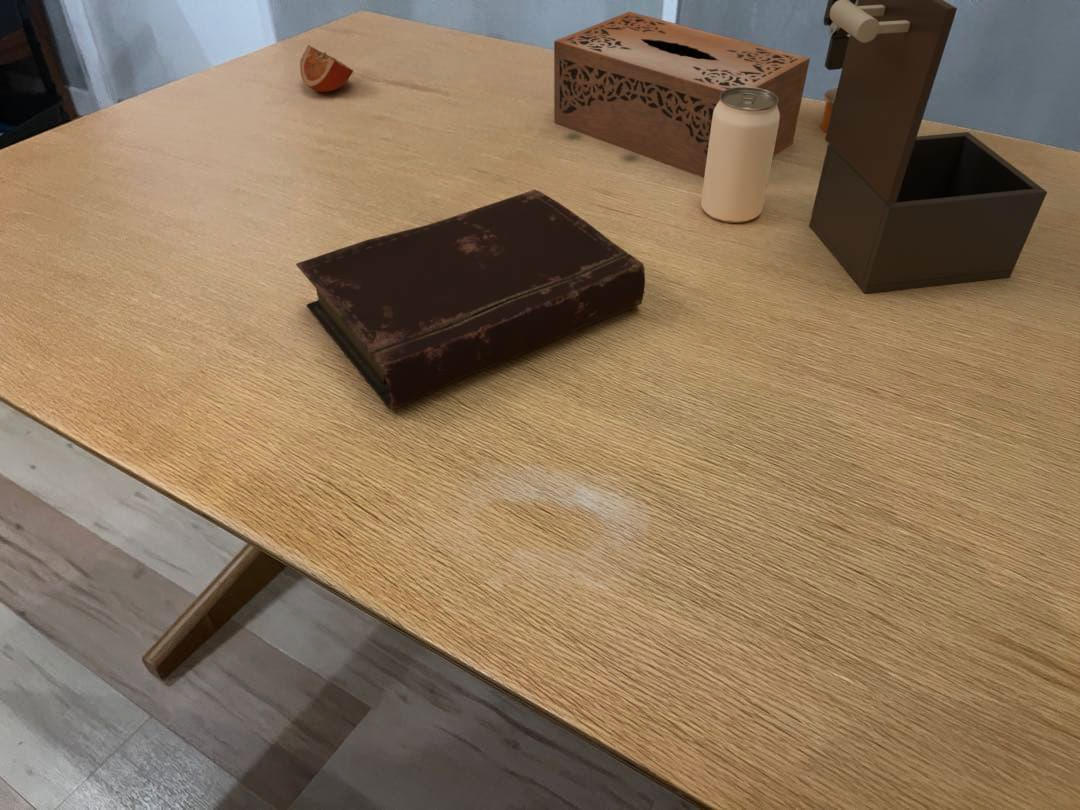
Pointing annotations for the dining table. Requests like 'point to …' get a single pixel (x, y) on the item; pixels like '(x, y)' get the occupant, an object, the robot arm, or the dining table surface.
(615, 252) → the diary
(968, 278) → the dark brown storage bin
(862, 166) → the lid
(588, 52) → the tissue box cover
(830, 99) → the cylinder
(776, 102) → the can
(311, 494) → the dining table surface
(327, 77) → the fruit slice
